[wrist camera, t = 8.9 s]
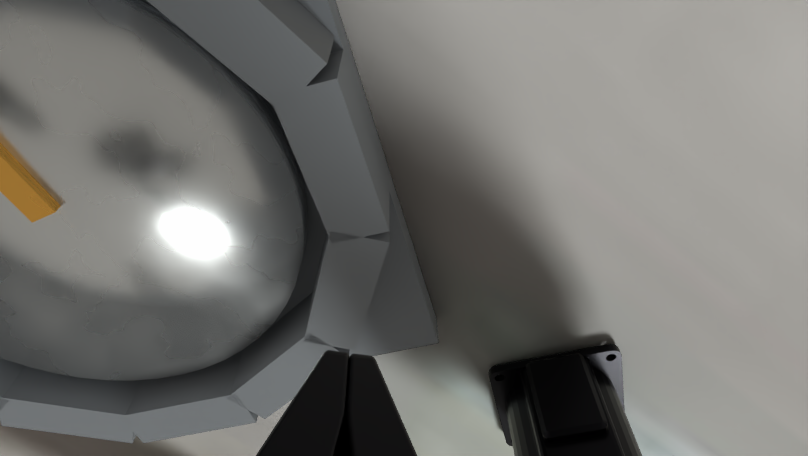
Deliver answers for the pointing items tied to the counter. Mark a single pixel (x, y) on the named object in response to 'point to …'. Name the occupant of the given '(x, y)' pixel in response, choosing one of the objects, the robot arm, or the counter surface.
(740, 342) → the counter surface
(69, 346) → the dial
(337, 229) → the grey round platform
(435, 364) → the counter surface
